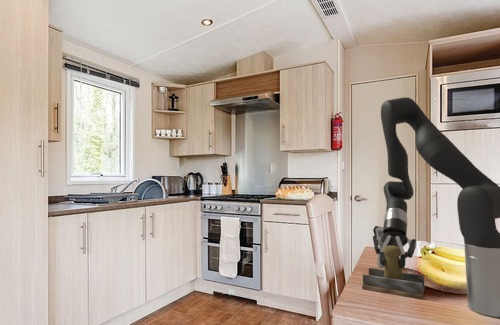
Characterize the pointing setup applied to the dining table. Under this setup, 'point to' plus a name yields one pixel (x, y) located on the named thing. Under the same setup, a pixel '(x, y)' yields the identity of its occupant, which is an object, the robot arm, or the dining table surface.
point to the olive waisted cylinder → (392, 263)
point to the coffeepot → (378, 232)
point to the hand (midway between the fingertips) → (392, 265)
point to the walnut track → (394, 284)
